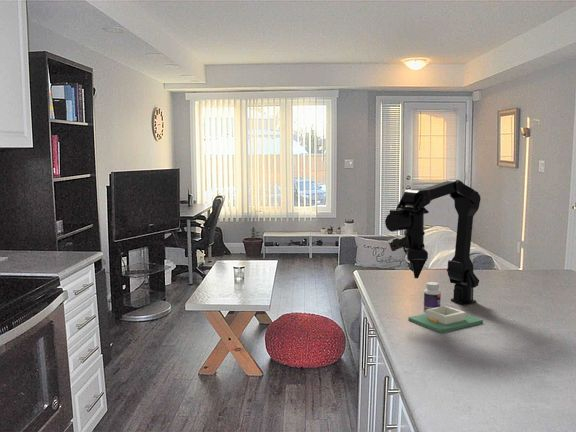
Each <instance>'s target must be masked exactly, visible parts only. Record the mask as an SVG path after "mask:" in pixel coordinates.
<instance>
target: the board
mask: <svg viewBox="0 0 576 432" xmlns="http://www.w3.org/2000/svg"><path fill="white" fill-rule="evenodd" d="M407 320H408V321H409V322H412V323H414V324H417V325H419V326H422V327H425V328H427V329H428V330H431V331H434V332H437V333H439V334H443V333H446V332H451V331H455V330H459V329H463V328H469V327H472V326H476V325H481V324H483V323H484V319H481V318H478V317H475V316H472V315H469V314H466V312H465V311H463V310H460V309H456V308H454V307H451V306H447V305H440V307H436V308H431V309H426V312H425V313H422V314H417V315H413V316H408V318H407Z"/></svg>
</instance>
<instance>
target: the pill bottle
mask: <svg viewBox="0 0 576 432" xmlns="http://www.w3.org/2000/svg"><path fill="white" fill-rule="evenodd" d="M425 285H426V288H425V289H424V290H423V312H424V313H426V309H431V308H436V307H441V297H442V294H441V293H442V292H441V290H440V289H439V287H440V285H439V282H435V281H434V282H433V281H430V282H429V281H428V282H426V284H425Z"/></svg>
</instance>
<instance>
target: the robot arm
mask: <svg viewBox="0 0 576 432" xmlns="http://www.w3.org/2000/svg"><path fill="white" fill-rule="evenodd" d="M445 196H449V197H450V198H451V199H452V200H453V201H454V209H455V211H456V213H457V227H456V238H455V249H454V250H455V251H454V255H453V258H452V259H451V260H450V259H449V260H448V261H447V269H446V272H447V276H448V278H449V283H450V284H454V287H453V297H452V298H450V301H451V302H454V303H458V304H461V305H469V304H473V303H477V300H476V299H474V288H476V287H479V283H480V279H479V278H478V277H477V276H476V275H477V274H475V272H474V264H473V262H472V260H471V257H470V256H471V254H470V253H471V244H472V235H473V232H472V231H473V224H474V222H473V221H474V216H475V215H476V214H477V212H478V210H479V208H480V205H481V200H482V199H481V194H479V192H478V191H477V190H475V189H474V188H472V187H471V186H468V184H467V185H466V184H465V183H464V182H463V181H462V180H459V179H448V180H446V181H443V182H440V183H437V184H434V185H431V186H427V187H424V188H408V189H405V190H404V192H403V195H402V197H401V199H400V200H399V202H398V204H397V207H396V208H395V209H389V214H387V216H386V217H385V220H384V224H385V227H386V229H387V230H388V231H389V232H392V233H393V232H397V231H398V232H399V231H404V232H403V234H402V235H399V236H396V237H393V238H390V239H388V240H387V242H388V245H389V248H390V250H391V252H395V251H398V250H399V249H403V252H404V253H405V254H406V259H407V261H409V266H410V269H411V272H413V277H414V279H419V276H420V274H421V273H422V271H423V268H424V266H425V264H426V262H427V261H428V259H429V252H428V251H427V250H426V249H425V241H424V238H425V235H426V234H425V231H424V229H425V222H424V221H425V220H424V219H425V217H424V216H425V214H426V215H427V214H429V210H428V209H427V208H425V207H427V206H428V205H430V203H431V202H432V201H433V200H436V199H438V198H439V199H440V198H442V197H445Z"/></svg>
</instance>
